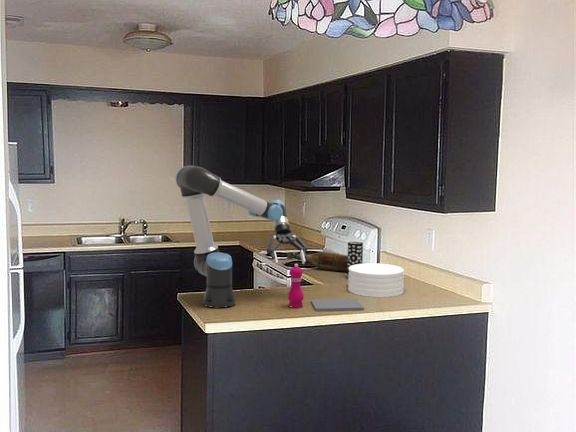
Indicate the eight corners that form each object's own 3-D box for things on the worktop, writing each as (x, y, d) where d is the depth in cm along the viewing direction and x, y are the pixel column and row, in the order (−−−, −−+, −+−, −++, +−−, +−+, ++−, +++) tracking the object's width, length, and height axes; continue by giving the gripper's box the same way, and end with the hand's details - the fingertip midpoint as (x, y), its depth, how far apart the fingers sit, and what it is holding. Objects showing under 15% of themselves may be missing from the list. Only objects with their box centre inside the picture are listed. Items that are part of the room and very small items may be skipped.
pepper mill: (290, 308, 276) (290, 265, 274) (286, 304, 283) (286, 262, 281) (305, 307, 279) (306, 264, 276) (300, 303, 285) (301, 261, 283)
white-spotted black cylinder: (360, 280, 335) (361, 244, 333) (345, 279, 338) (346, 243, 336) (363, 277, 343) (364, 242, 341) (349, 276, 346) (349, 241, 343)
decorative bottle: (358, 265, 361) (291, 256, 383) (355, 251, 356) (288, 243, 377) (352, 277, 354) (284, 267, 375) (349, 263, 348) (280, 254, 369)
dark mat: (315, 311, 273) (315, 308, 273) (310, 301, 289) (310, 299, 289) (363, 310, 275) (363, 307, 275) (356, 301, 291) (356, 298, 291)
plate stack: (347, 295, 302) (347, 273, 300) (349, 283, 329) (349, 262, 328) (404, 298, 298) (405, 275, 296) (402, 285, 325) (402, 264, 324)
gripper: (304, 231, 307) (313, 266, 295) (256, 232, 300) (263, 268, 288) (307, 222, 302) (317, 257, 289) (258, 223, 295) (266, 260, 282)
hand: (290, 263), depth 289 cm, fingers open, 13 cm apart
